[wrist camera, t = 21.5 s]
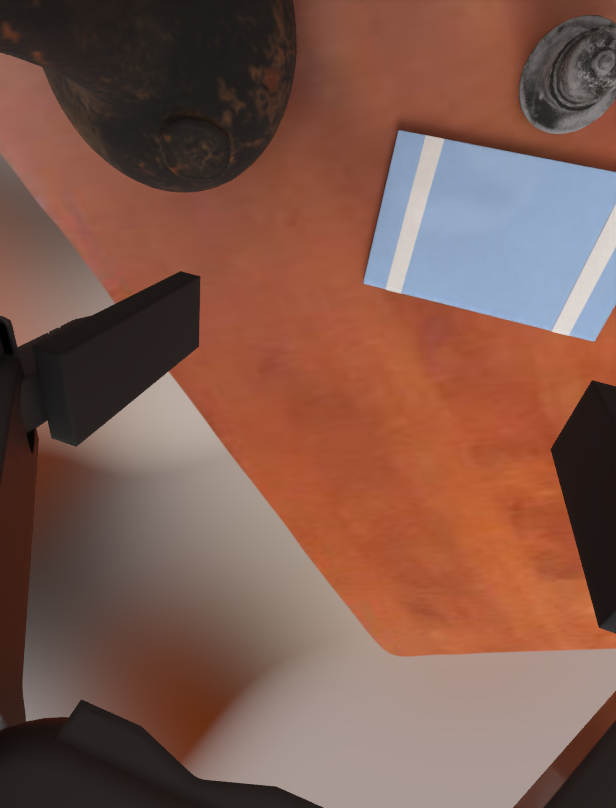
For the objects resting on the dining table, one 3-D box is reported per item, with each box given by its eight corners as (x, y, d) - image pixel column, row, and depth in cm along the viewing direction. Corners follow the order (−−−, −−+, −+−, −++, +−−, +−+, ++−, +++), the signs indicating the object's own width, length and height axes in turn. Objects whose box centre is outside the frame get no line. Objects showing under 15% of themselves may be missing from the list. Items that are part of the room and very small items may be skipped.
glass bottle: (189, 217, 42) (-130, 320, 20) (71, 3, 36) (-603, -214, 13) (359, 112, 34) (150, 79, 11) (244, -188, 28) (-727, -1590, 5)
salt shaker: (625, 20, 28) (712, -39, 18) (598, 131, 31) (661, 132, 21) (523, 32, 29) (552, -17, 20) (506, 136, 32) (525, 138, 23)
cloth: (592, 339, 38) (594, 342, 37) (364, 281, 41) (362, 283, 40) (680, 184, 31) (684, 185, 30) (399, 129, 34) (398, 129, 34)
